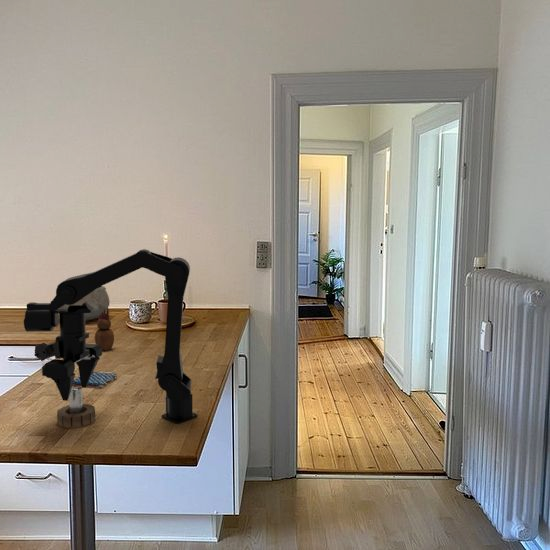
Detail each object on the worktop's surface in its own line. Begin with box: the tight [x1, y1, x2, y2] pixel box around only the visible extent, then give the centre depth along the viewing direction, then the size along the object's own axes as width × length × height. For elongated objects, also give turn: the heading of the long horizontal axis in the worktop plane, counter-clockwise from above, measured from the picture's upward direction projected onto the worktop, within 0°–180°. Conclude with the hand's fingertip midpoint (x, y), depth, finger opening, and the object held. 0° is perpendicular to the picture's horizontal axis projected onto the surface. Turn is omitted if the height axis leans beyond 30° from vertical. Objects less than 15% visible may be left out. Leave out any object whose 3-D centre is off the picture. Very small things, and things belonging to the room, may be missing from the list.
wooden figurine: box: [94, 308, 115, 351], centre depth 197 cm, size 7×6×15 cm
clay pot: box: [59, 285, 110, 322], centre depth 243 cm, size 21×21×15 cm
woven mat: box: [72, 371, 118, 389], centre depth 163 cm, size 10×11×2 cm
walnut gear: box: [56, 403, 96, 429], centre depth 135 cm, size 9×9×3 cm
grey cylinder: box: [68, 386, 84, 414], centre depth 135 cm, size 3×3×8 cm
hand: (75, 393), depth 134 cm, fingers open, 9 cm apart
